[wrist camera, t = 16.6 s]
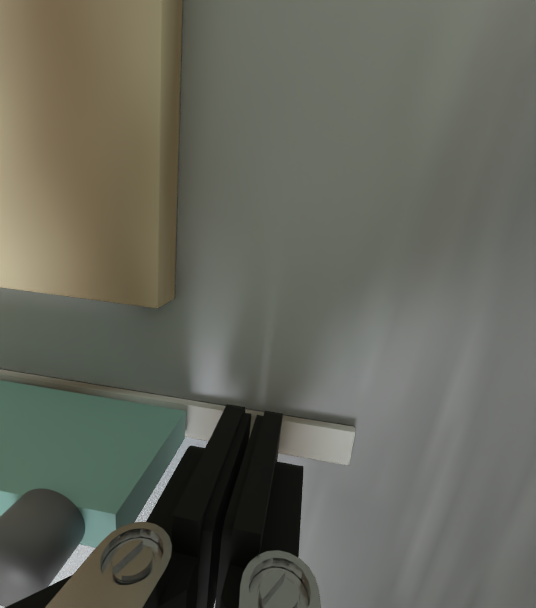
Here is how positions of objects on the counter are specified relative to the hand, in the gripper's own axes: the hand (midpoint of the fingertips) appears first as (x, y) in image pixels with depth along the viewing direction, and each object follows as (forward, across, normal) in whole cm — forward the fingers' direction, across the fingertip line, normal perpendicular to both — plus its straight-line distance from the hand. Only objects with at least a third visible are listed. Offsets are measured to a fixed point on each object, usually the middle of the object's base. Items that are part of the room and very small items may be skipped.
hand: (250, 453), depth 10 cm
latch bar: (+1, +6, 0) cm, 6 cm away
